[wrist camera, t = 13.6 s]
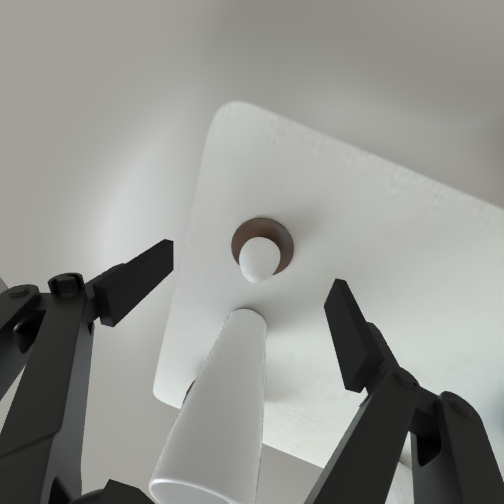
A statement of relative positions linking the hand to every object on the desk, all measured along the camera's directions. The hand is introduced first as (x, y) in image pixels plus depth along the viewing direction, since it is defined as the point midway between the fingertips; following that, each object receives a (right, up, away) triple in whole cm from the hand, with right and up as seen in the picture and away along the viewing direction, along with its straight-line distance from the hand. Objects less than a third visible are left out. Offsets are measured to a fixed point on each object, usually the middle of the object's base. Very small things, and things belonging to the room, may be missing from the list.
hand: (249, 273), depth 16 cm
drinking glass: (0, -7, +10) cm, 12 cm away
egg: (+1, +2, +4) cm, 5 cm away
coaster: (+1, +2, +5) cm, 5 cm away
